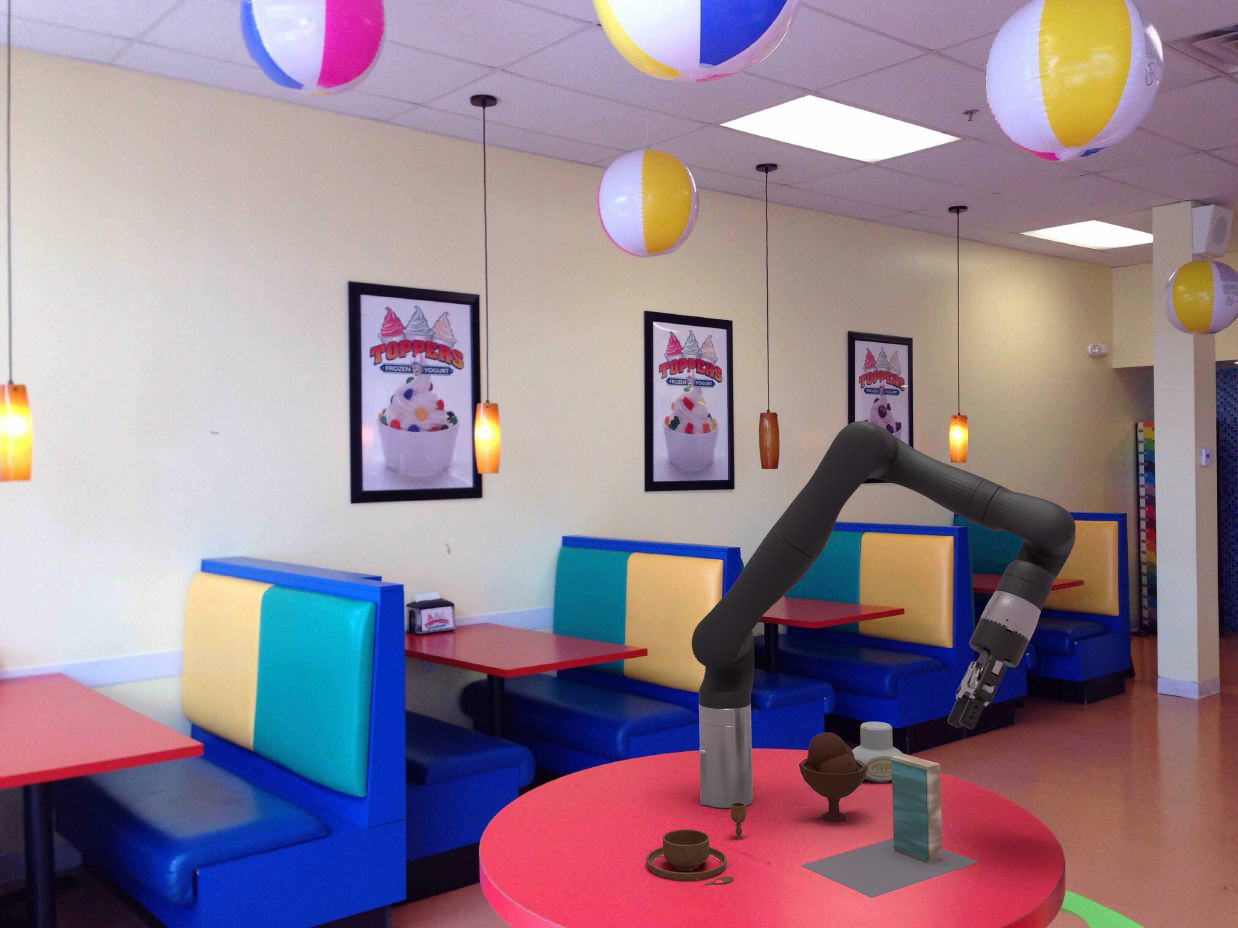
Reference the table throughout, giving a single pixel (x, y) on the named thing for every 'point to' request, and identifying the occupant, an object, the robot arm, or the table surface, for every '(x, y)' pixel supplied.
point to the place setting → (694, 851)
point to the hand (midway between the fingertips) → (959, 725)
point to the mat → (883, 868)
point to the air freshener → (876, 751)
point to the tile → (917, 807)
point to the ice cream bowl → (832, 772)
